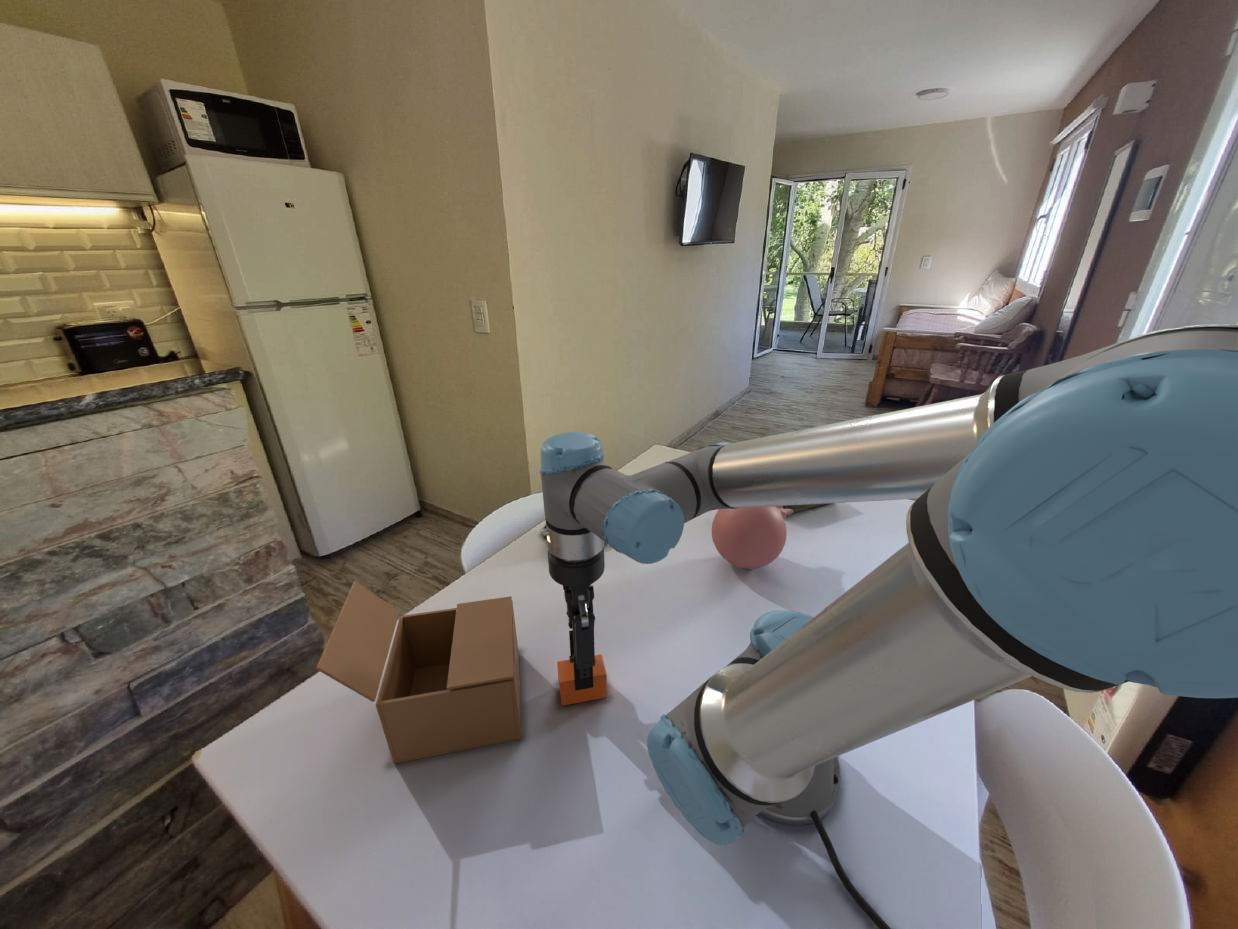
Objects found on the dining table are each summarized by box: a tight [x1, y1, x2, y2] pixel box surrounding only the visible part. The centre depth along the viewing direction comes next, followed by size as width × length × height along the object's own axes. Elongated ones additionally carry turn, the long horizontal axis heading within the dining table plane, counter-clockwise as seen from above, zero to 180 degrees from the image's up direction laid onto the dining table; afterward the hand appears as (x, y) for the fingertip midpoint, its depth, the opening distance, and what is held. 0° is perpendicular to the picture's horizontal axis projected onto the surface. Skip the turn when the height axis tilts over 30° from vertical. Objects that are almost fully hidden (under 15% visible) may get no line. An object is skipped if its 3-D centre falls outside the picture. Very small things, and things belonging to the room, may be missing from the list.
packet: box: [556, 653, 608, 707], centre depth 74 cm, size 4×7×5 cm, turn 102°
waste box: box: [375, 596, 523, 764], centre depth 71 cm, size 16×17×12 cm
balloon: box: [711, 506, 794, 570], centre depth 103 cm, size 15×20×15 cm
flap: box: [315, 580, 400, 703], centre depth 64 cm, size 16×8×1 cm
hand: (581, 674), depth 73 cm, fingers closed on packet, 4 cm apart
